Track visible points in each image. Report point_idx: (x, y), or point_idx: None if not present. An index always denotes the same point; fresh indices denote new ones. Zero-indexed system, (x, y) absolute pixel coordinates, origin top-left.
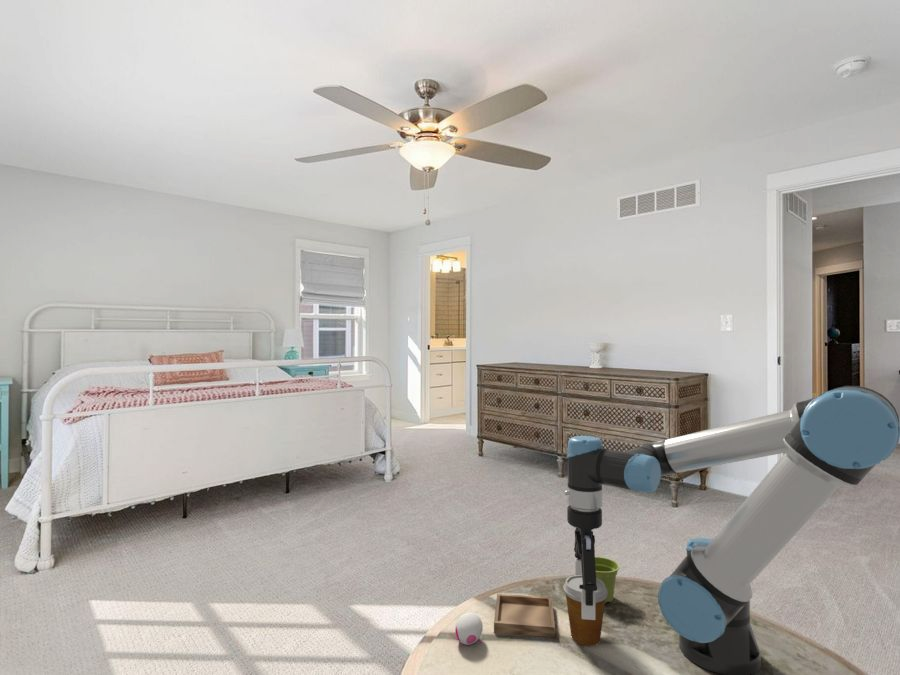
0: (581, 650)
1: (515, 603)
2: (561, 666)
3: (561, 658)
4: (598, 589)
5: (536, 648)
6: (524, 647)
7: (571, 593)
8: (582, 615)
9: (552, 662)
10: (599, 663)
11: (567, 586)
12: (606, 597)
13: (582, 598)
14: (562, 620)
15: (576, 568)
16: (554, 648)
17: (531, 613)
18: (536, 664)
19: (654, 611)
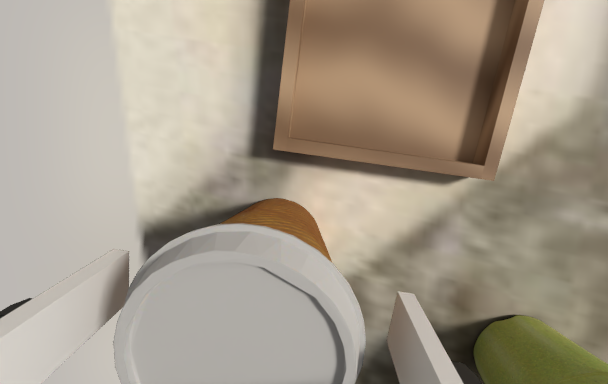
0: (214, 211)
1: (497, 25)
2: (131, 135)
3: (169, 143)
4: None
5: (214, 72)
6: (217, 30)
7: (165, 255)
8: (103, 257)
9: (147, 112)
10: (158, 244)
11: (195, 251)
12: (480, 370)
13: (29, 301)
14: (379, 192)
15: (432, 374)
16: (218, 132)
17: (411, 83)
18: (131, 59)
19: None
